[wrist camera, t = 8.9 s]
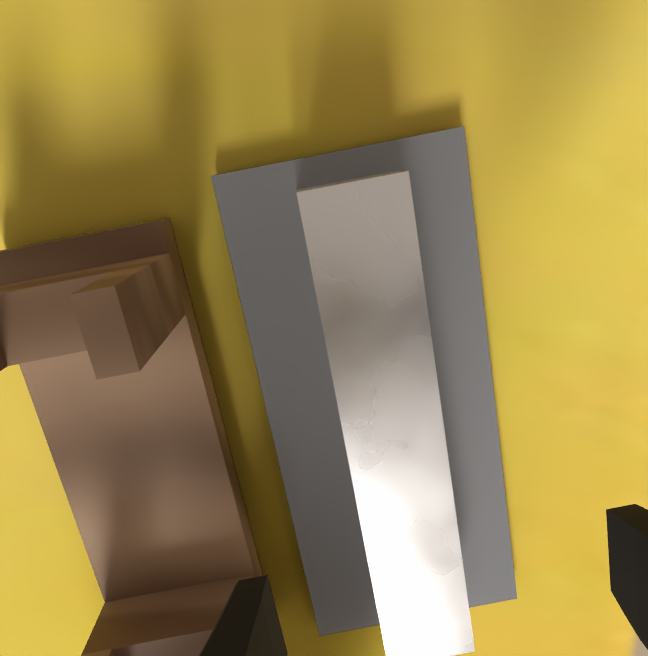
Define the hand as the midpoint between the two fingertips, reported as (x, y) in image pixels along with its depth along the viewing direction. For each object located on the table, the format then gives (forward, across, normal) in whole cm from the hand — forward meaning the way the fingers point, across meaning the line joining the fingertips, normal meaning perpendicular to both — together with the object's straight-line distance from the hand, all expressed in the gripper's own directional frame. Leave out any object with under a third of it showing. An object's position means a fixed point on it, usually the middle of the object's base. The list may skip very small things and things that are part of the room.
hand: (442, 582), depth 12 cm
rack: (+9, +8, 0) cm, 12 cm away
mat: (+9, 0, 0) cm, 9 cm away
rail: (+8, 0, 0) cm, 8 cm away
